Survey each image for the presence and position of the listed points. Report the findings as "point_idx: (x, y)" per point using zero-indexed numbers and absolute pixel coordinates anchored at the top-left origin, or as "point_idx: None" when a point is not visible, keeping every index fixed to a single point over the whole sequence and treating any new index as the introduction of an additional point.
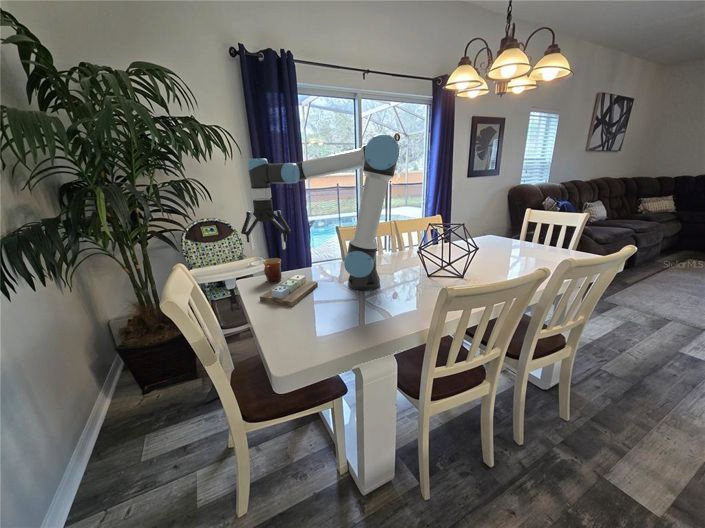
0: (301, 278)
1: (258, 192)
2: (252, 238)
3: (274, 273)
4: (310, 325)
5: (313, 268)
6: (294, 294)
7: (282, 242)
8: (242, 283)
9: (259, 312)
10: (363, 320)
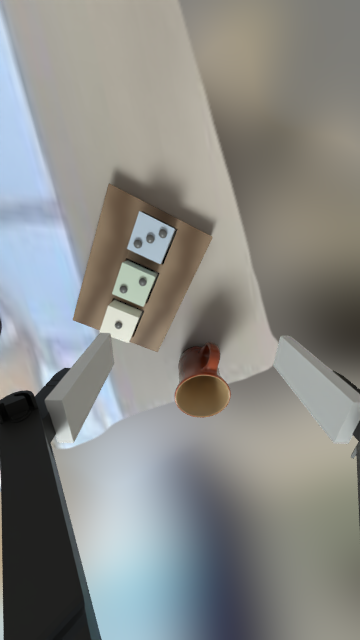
0: (105, 314)
1: None
2: (312, 407)
3: (193, 359)
4: (21, 28)
5: (116, 415)
6: (115, 241)
7: (90, 356)
8: (271, 348)
9: (198, 155)
10: None
